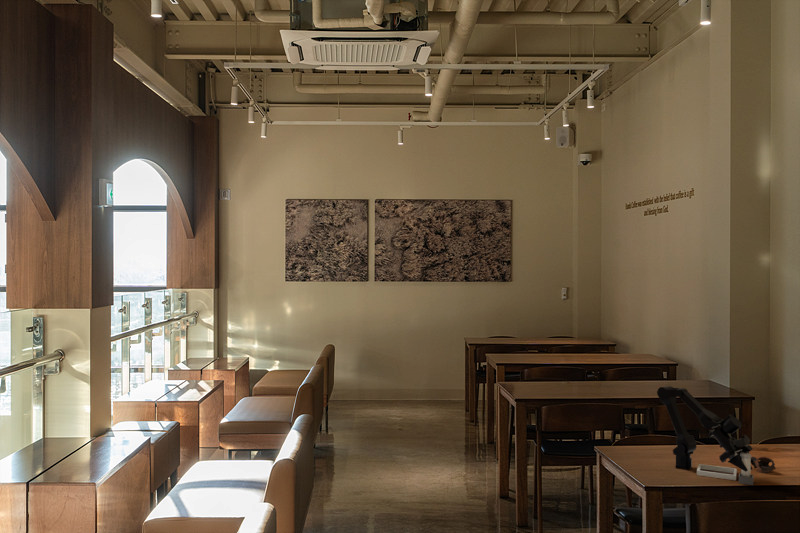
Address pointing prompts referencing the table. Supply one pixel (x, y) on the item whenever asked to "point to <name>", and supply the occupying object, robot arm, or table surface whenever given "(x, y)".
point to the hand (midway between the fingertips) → (749, 470)
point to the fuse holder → (745, 480)
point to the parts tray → (717, 468)
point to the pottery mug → (763, 464)
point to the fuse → (746, 464)
